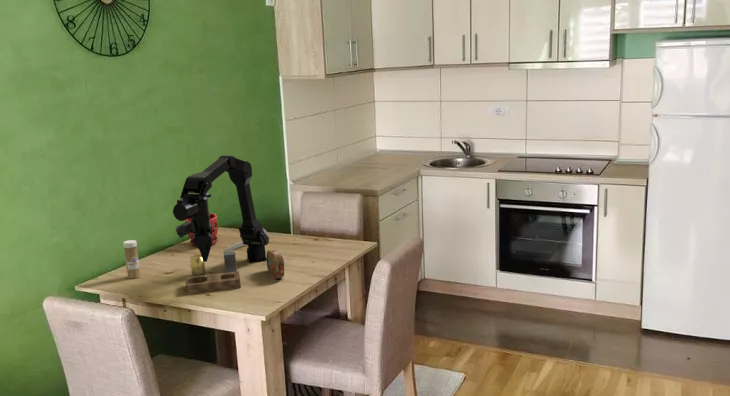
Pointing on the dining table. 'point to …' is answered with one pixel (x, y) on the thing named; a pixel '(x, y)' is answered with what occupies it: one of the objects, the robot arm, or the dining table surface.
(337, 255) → the dining table surface
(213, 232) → the plant pot
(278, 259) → the tin
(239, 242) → the caliper
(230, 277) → the bore block
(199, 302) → the dining table surface
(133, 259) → the sprinkles bottle
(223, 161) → the robot arm
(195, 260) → the round bit
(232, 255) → the square bit
